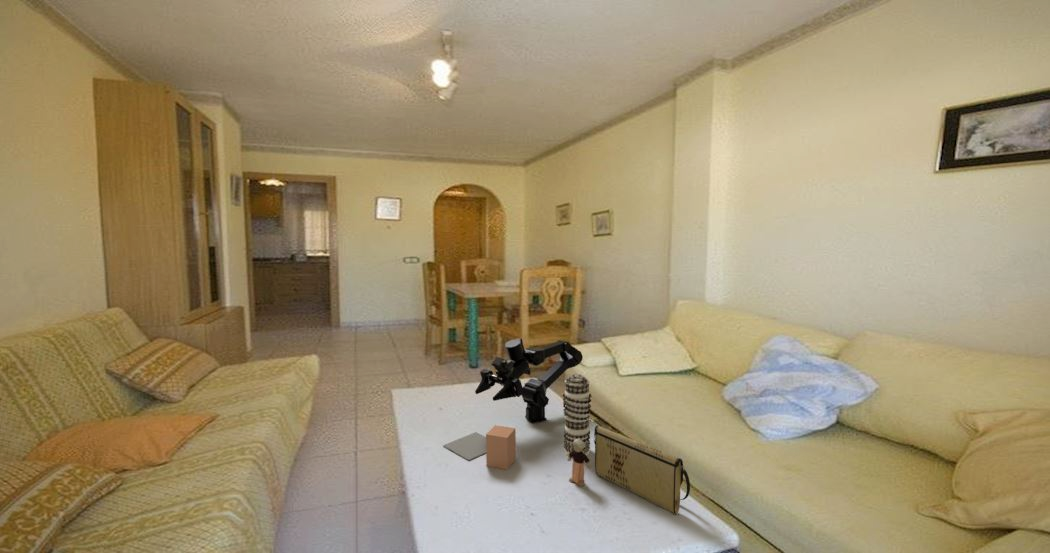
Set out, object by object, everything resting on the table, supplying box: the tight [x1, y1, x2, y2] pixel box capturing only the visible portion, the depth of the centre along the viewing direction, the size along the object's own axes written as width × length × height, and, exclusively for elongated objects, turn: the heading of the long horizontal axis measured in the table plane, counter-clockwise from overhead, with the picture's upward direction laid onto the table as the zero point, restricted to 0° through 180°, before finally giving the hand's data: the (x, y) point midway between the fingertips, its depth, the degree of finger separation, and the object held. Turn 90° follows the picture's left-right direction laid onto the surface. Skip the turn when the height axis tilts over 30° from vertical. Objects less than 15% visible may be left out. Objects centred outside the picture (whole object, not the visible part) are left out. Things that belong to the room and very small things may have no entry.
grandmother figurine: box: [567, 439, 592, 486], centre depth 125 cm, size 8×4×13 cm, turn 62°
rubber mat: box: [442, 431, 486, 462], centre depth 148 cm, size 14×14×1 cm
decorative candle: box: [562, 374, 592, 457], centre depth 143 cm, size 9×9×25 cm
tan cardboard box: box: [485, 424, 517, 470], centre depth 137 cm, size 7×7×10 cm
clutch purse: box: [593, 424, 691, 516], centre depth 122 cm, size 30×7×15 cm, turn 41°
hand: (484, 396), depth 150 cm, fingers open, 9 cm apart
